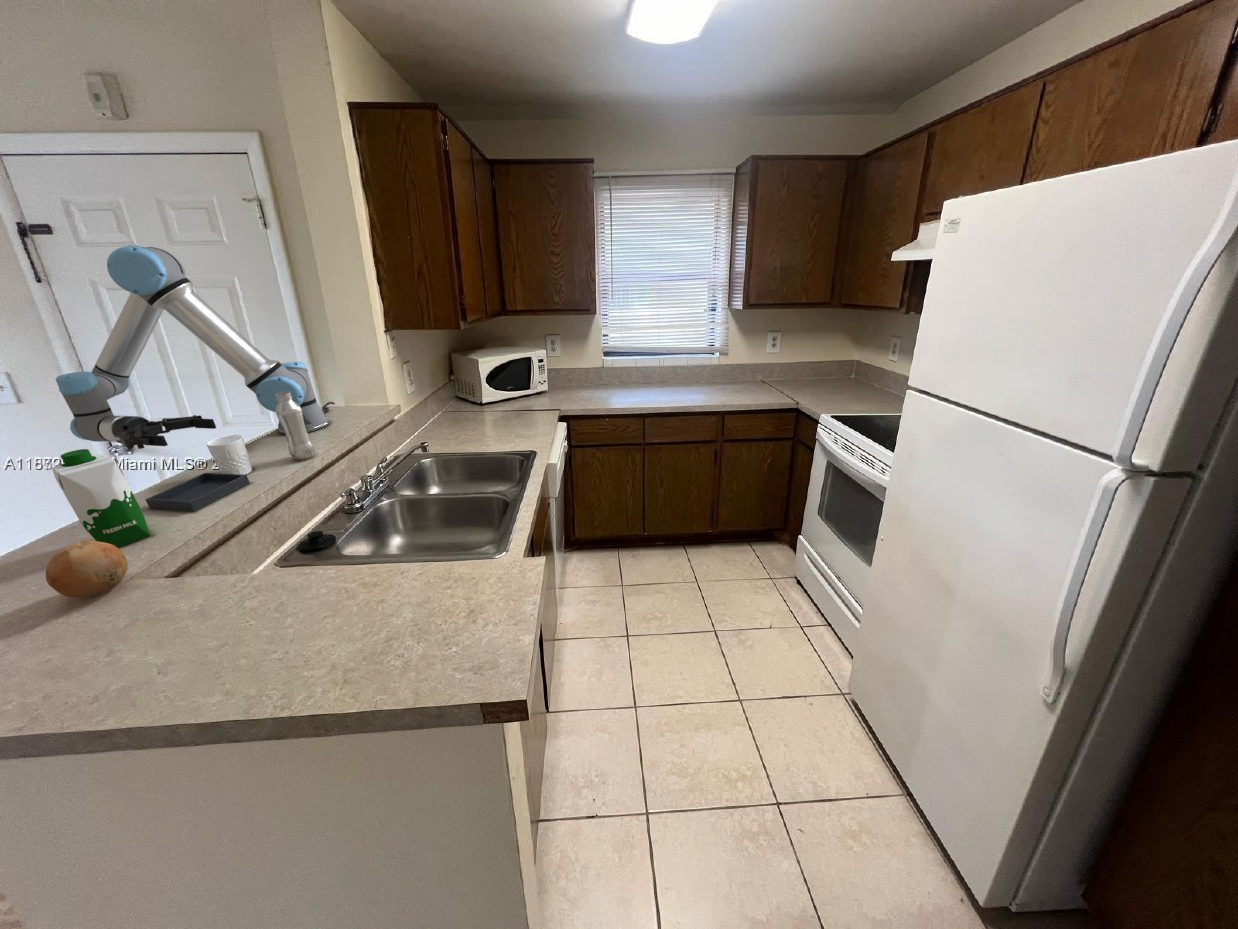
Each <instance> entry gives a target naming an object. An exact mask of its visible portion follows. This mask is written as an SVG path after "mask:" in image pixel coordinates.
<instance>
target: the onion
mask: <svg viewBox="0 0 1238 929" xmlns="http://www.w3.org/2000/svg"><path fill="white" fill-rule="evenodd" d="M128 565H129V564H128V559H127V557H126V555H125V553H124V552H123V551H122V550H121V549H120V547H119V548H117V547H116V546H114V545H112V544H109V543H104V542H98V541H96V540H80V541H77V542H75V543H72V544H70V545H68V546H66V547H64V548H63V549H61V550H60V551H58V552H57V553H55V554H54V555H53V556H52V558H50V560H49V561H48V563H47V565H46V568H45V582H46V583H47V585H48V586H49V587H50V588H52V589H53V590H54V591H55V592H57V593H58V594H60V595H61V596H64V597H66V598H70V599H71V598H72V599H74V598H75V599H85V598H92V597H97V596H100V595H102V594H104V593H106V592H109V591H110V590H112V589H114V588H116V587H117V586H118V585H119V584H120V583H121V582H122V581H123V579H124V577H125V576H126V574H127V571H128Z"/></svg>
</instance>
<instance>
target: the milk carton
mask: <svg viewBox="0 0 1238 929" xmlns="http://www.w3.org/2000/svg"><path fill="white" fill-rule="evenodd" d="M60 458H61V460H62V462H63V463H61V464H59V465H55V466H52V467H51V470H52V472H53V476H54V479H55V481H56V483H57V484H58V486H59V488H60V489H61V491H62V492H63V495H64V496H65V498H66V500H67V502H68V503H69V505H70V507H71V508H72V510H73V511H74V513H75V515H76V517H77V518H78V520H79V522H80V524H81V525H82V527H83V528H84V530H85V531H87V533H88V534H89V535H90V536H91V537H92V538H93V539H94V541H98V542H104V543H109V544H112V545H114V546H116V547H117V548H119V549H120V548H122V547H124V546H127V545H130V544H132V543H135V542H137V541H138V542H139V541H140V540H143V539H146V538H148V537H151V536H152V534H151V533H150V529H149V527H148V524H147V522H146V519H145V515H144V513H143V511H142V508H141V507H140V504H139V502H138V501H137V499H136V497H135V495H134V493H133V491H132V489H131V487H130V485H129V483H128V482H127V479H126V478H125V476H124V475H123V471H122V470H121V468H120V467H119V466H118V464H117V463H116V462H115V460H113V459H112V458H111V457H108V456H106V455H105V454H104V453H103V454H98V455H92V453H91V451H90V449H89V448H81V449H75V450H71V451H68V452H67V451H66V452H65V453H63V454H60Z"/></svg>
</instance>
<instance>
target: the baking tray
mask: <svg viewBox="0 0 1238 929" xmlns="http://www.w3.org/2000/svg"><path fill="white" fill-rule="evenodd" d="M250 484H251V482H250V480H249V478H248V474H245V475H241V474H222V473H221V472H220V473H219V472H218V473H217V472H204V473H202V474H199V475H197V476H194V477H193V478H190V479H188V480H185V481H183V482H180V483H178V484H176V485H175V486H172V487H170V488H168V489H165V490H163V491H161V492H158V493H156V494H154V495H152V496H149V497H148V498H145V499H144V500H145V502H146V503H147V506H148V508H149V509H150V510H151V509H152V510H162V511H163V510H164V511H180V512H192V513H194V512H197V511H198V510H201V509H202V508H205V507H206V506H208V505H210V504H212V503H215V502H217V501H219V500H221V499H223V498H224V497H226V496H229V495H230V494H232V493H234V492H236V491H238V490H240V489H242V488H244V487H246V486H248V485H250Z"/></svg>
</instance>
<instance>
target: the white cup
mask: <svg viewBox="0 0 1238 929" xmlns="http://www.w3.org/2000/svg"><path fill="white" fill-rule="evenodd" d="M205 445H206V447H207V449H208V451H209V453H210V455H211V457H212V459H213V462H214V463H215V465H216V466H217V469H219V471H220V473H222V474H241V475H248V474H250V473H251V472H252V471H253V468H252V467H253V466H252V464H251V462H250V457H249V452H248V449H247V447H246V444H245V440H244V437H243V436H242V435H239V434H237V435H236V434H233V435H232V434H231V435H226V436H225V435H224V436H220V437H217V438H213V439H210V440H209V441H208V442H206V444H205Z"/></svg>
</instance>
